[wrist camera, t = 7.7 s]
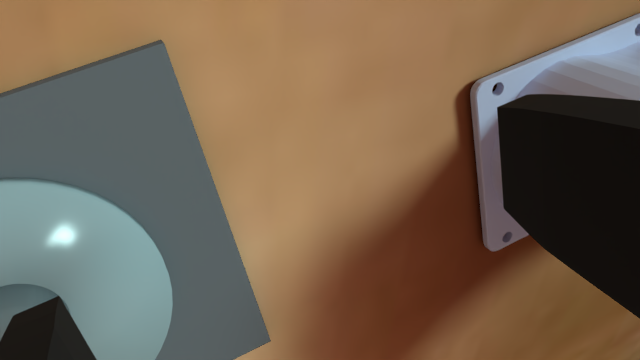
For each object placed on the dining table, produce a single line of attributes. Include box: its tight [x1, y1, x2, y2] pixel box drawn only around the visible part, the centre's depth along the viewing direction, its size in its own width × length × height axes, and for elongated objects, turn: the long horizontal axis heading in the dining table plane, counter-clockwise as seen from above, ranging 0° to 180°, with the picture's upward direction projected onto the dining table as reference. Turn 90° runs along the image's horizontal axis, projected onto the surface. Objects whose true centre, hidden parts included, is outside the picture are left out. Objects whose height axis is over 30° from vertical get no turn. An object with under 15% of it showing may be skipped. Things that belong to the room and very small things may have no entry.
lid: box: [0, 177, 173, 360], centre depth 17 cm, size 9×9×4 cm
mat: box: [0, 40, 271, 360], centre depth 18 cm, size 14×12×1 cm
